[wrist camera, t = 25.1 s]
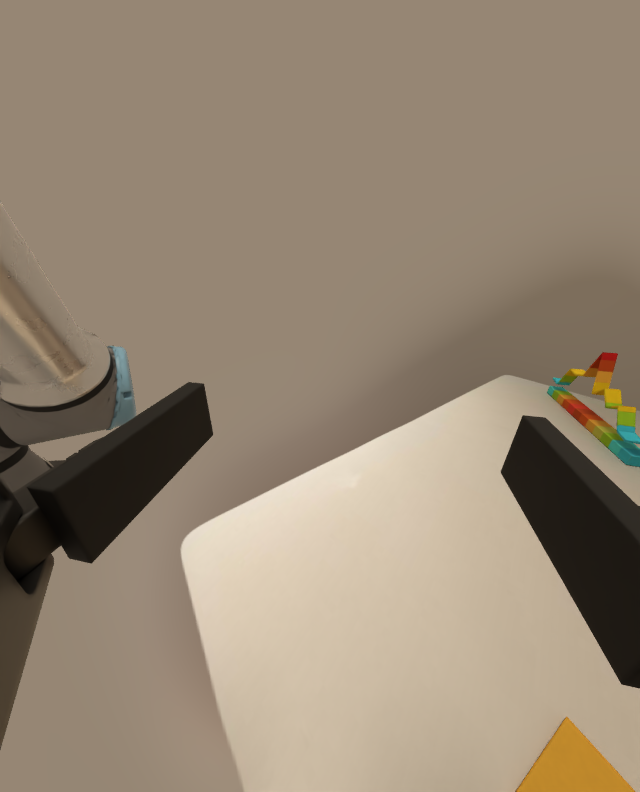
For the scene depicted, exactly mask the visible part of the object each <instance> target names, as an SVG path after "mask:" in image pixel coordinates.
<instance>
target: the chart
mask: <svg viewBox="0 0 640 792" xmlns="http://www.w3.org/2000/svg"><path fill="white" fill-rule="evenodd" d="M617 355H618V354H617V353H604V352H603V353H602V354H601V355H600V356H599V357H598V359H597V360H596V361H595V362H594V363H593V364H592V365H591V366H590V368H589V369H588V370H587V371H586V372H585V371H584V370H580V369H570V370H569V371H568V372H567V373H566V374H565V375H564V376H563V378H553V380H554V381H555V383H556V384H561V385H570V384H571V383H572V382H573V381H574V379H576V378H577V376H585V377H596V380H595V383H594V386H593V390H592V394H596V395H604V396H605V407H606V408H610V409H618V415H617V430H616V429H614V428H613V427H612V426H611V425H609V424H608V423H607V422H606V421H604V420H603V419H602V418H600V417H599V416H598V415H597V414H595V413H594V412H593V411H592V410H590V409H589V408H588V407H587V406H585V405H584V404H583V403H582V402H580V401H579V400H578V399H576V398H575V397H574V396H573V395H572V394H570V393H569V392H568V391H567V390H565V389H564V388H563V387H555V386H550V387H549V389H548V392H547V393H548V394H549V395H551V396H552V397H553V398H554V399H555V400H556V401H557V402H558V403H559V404H560V405H561V406H562V407H563V408H565V409H566V410H567V411H568V412H569V413H570V414H571V415H572V416H573V417H574V418H576V419H577V420H578V421H579V422H580V423H581V424H582V425H583V426H584V427H585V428H587V429H588V430H589V431H590V432H591V433H592V434H593V435H594V436H595V437H596V438H597V439H599V440H600V441H601V442H602V443H603V444H604V445H605V446H606V447H607V448H608V449H610V450H611V451H612V452H613V453H614V454H615V455H616V456H617V457H618V458H619V459H621V460H622V461H623V462H624V463H625V464H626V465H632V466H638V467H640V448H638V447H637V446H636V445H635V444H633V443H636V444H640V438H639V437H638V435H637V434H636V433H635V416H636V408H635V407H628V406H622V399H621V390H618V389H609V385H610V381H611V377H612V373H613V370H614V366H615V363H616V359H617Z"/></svg>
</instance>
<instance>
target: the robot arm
mask: <svg viewBox="0 0 640 792" xmlns="http://www.w3.org/2000/svg"><path fill="white" fill-rule="evenodd" d="M118 426H120V427H119V428H117V429H116V430H114V431H112V432H111V433H109V434H108V435H106V436H105V437H102V438H100V439H98V440H95V441H93V442H92V443H90V444H88V445H87V446H85V447H84V448H82V449H81V450H79V452H78V453H74V454H73V455H71V456H70V457H68V458H67V459H66V461H62V462H60V463H59V464H57V465H55V466H54V467H53V466H52V464H51V463H50V462H48V461H47V460H46V459H45V460H46V461H47V462H46V461H45V460H43V459H42V458H40V457H39V456H38V455H36V454H35V453H34V452H33V451H31V450H30V448H29V447H28V445H31V444H35V443H40V442H45V441H50V440H55V439H60V438H65V437H69V436H75V435H80V434H85V433H90V432H95V431H100V430H105V429H106V430H111V429H113V428H114V427H118ZM212 435H213V431H212V425H211V420H210V414H209V409H208V404H207V399H206V392H205V387H204V384H200V383H191V382H189V383H187V384H185V385H184V386H182V387H181V388H179V389H177V390H176V391H174V392H173V393H171V394H170V395H168V396H167V397H165V398H164V399H162V400H160V401H159V402H157V403H156V404H154V405H153V406H151V407H150V408H148V409H147V410H145V411H143V412H142V413H140V414H139V415H137V416H136V407H135V400H134V393H133V387H132V380H131V375H130V369H129V363H128V358H127V353H126V350H125V349H124V348H122V347H114V346H108V347H106V345H105V344H104V342H103V341H102V340H101V339H100V338H99V337H97V336H96V335H95V334H93V333H91V332H89V331H87V330H85V329H82V328H79V327H78V326H77V324H76V323H75V321H74V320H73V318H72V316H71V315H70V313H69V311H68V310H67V308H66V307H65V305H64V303H63V302H62V300H61V298H60V297H59V296H58V294H57V292H56V291H55V289H54V287H53V286H52V284H51V282H50V281H49V279H48V278H47V276H46V274H45V273H44V271H43V269H42V268H41V266H40V265H39V263H38V261H37V260H36V258H35V256H34V255H33V253H32V252H31V250H30V249H29V247H28V245H27V244H26V242H25V241H24V239H23V237H22V235H21V234H20V232H19V231H18V229H17V228H16V226H15V224H14V223H13V221H12V219H11V218H10V216H9V214H8V213H7V211H6V210H5V208H4V206H3V205H2V203H1V202H0V749H1V745H2V742H3V739H4V735H5V732H6V728H7V725H8V721H9V718H10V714H11V711H12V707H13V704H14V700H15V697H16V694H17V690H18V686H19V683H20V680H21V676H22V673H23V669H24V666H25V662H26V659H27V655H28V652H29V648H30V645H31V642H32V638H33V634H34V631H35V628H36V624H37V620H38V617H39V614H40V610H41V607H42V603H43V600H44V596H45V593H46V590H47V586H48V582H49V579H50V576H51V572H52V569H53V565H54V558H53V556H52V554H51V553H52V552H53V551H54V550H56V549H57V548H58V547H59V546H60V545H61V546H62V547H63V549H64V551H65V552H66V554H67V556H68V557H69V558H70V559H74V560H79V561H83V562H87V563H92V562H93V561H94V560H95V559H96V558H97V557H98V556H99V555H100V554H101V553H102V552H103V551H104V550H105V549H106V547H108V545H109V544H110V543H111V542H112V541H113V540H114V539H115V538H116V537H117V536H118V535H119V534H120V533H121V532H122V531H123V529H125V527H126V526H127V525H128V524H129V523H130V522H131V521H132V520H133V519H134V518H135V517H136V516H137V515H138V514H139V513H140V512H141V511H142V510H143V508H144V507H145V506H146V505H147V504H148V503H149V502H150V501H151V500H152V499H153V498H154V497H155V496H156V495H157V494H158V493H159V492H160V490H161V489H162V488H163V487H164V486H165V485H166V484H167V483H168V482H169V481H170V480H171V479H172V478H173V477H174V476H175V475H176V474H177V472H178V471H179V470H180V469H181V468H182V467H183V466H184V465H185V464H186V463H187V462H188V461H189V460H190V459H191V457H193V456H194V454H195V453H196V452H197V451H198V450H199V449H200V448H201V447H202V446H203V445H204V444H205V443H206V442H207V441H208V440H209V439H210V438H211V437H212ZM501 474H502V476H503V477H504V479H505V481H506V483H507V484H508V486H509V488H510V490H511V491H512V493H513V495H514V497H515V498H516V500H517V502H518V504H519V505H520V507H521V509H522V511H523V512H524V514H525V516H526V518H527V519H528V521H529V523H530V525H531V526H532V528H533V530H534V532H535V533H536V535H537V537H538V539H539V540H540V542H541V544H542V546H543V547H544V549H545V551H546V553H547V554H548V556H549V558H550V560H551V561H552V563H553V565H554V567H555V568H556V570H557V572H558V574H559V575H560V577H561V579H562V581H563V583H564V584H565V586H566V588H567V590H568V591H569V593H570V595H571V597H572V598H573V600H574V602H575V604H576V605H577V607H578V609H579V611H580V612H581V614H582V616H583V618H584V619H585V621H586V623H587V625H588V626H589V628H590V630H591V632H592V633H593V635H594V637H595V639H596V640H597V642H598V644H599V646H600V647H601V649H602V651H603V653H604V654H605V656H606V658H607V660H608V661H609V663H610V665H611V667H612V668H613V670H614V672H615V674H616V675H617V677H618V679H619V681H620V682H621V684H622V685H627V686H631V687H636V688H640V506H637V505H636V504H635V503H634V502H633V501H632V500H631V499H630V498H629V497H628V496H627V495H626V494H625V493H624V492H623V491H622V490H621V489H620V488H619V487H618V486H617V485H615V484H614V483H613V482H612V481H611V480H610V479H609V478H608V477H607V476H606V475H605V474H604V473H603V472H602V471H601V470H600V469H599V468H598V467H597V466H596V465H594V464H593V463H592V462H591V461H590V460H589V459H588V458H587V457H586V456H585V455H584V454H583V453H582V452H581V451H580V450H579V449H578V448H577V447H576V446H575V445H574V444H572V443H571V442H570V441H569V440H568V439H567V438H566V437H565V436H564V435H563V434H562V433H561V432H560V431H559V430H558V429H557V428H556V427H555V426H554V425H553V424H551V423H550V422H549V421H548V420H547V419H546V418H543V417H533V416H522V419H521V421H520V424H519V427H518V429H517V432H516V434H515V437H514V439H513V442H512V444H511V447H510V450H509V452H508V455H507V457H506V460H505V462H504V465H503V467H502V470H501Z"/></svg>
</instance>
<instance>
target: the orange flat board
mask: <svg viewBox="0 0 640 792" xmlns="http://www.w3.org/2000/svg"><path fill="white" fill-rule="evenodd" d="M516 792H635V791H634V790H633V788H632V787H631V786H630V785H629V784H628V783H627V782H626V781H625V780H624V779H623V778H622V776H621V775H620V774H619V773H618V772H617V771H616V770H615V769H614V768H613V767H612V765H611V764H610V763H609V762H608V761H607V760H606V759H605V758H604V757H603V756H602V755H601V753H600V752H599V751H598V750H597V749H596V748H595V747H594V746H593V745H592V744H591V742H590V741H589V740H588V739H587V738H586V737H585V736H584V735H583V734H582V733H581V732H580V730H579V729H578V728H577V727H576V726H575V725H574V724H573V723H572V722H571V721H570V719H569V718H568V717H566V718H565V719H564V720H563V722H562V723H561V725H560V726H559V728H558V729H557V731H556V732H555V734H554V735H553V737H552V738H551V740H550V741H549V743H548V744H547V746H546V747H545V749H544V750H543V752H542V753H541V755H540V756H539V758H538V759H537V761H536V762H535V764H534V765H533V767H532V768H531V769H530V771H529V772H528V774H527V775H526V777H525V778H524V780H523V781H522V783H521V784H520V786H519V787H518V789H517V790H516Z"/></svg>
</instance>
